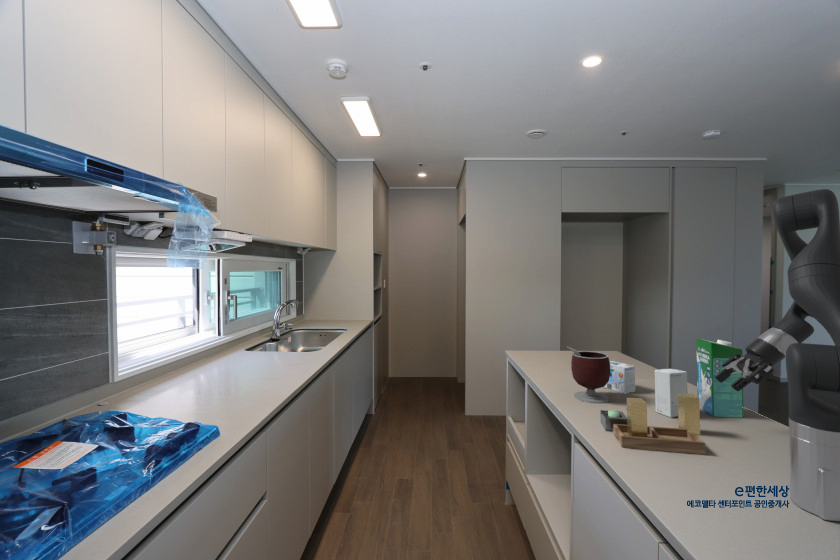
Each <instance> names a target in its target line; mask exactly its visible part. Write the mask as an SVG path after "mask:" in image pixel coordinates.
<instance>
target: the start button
mask: <svg viewBox="0 0 840 560" xmlns="http://www.w3.org/2000/svg"><path fill="white" fill-rule="evenodd" d="M607 411H608V417H620V413H619V412H618V411H619V410H615V409H610V410H607Z"/></svg>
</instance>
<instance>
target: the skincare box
mask: <svg viewBox="0 0 840 560" xmlns="http://www.w3.org/2000/svg"><path fill="white" fill-rule="evenodd" d="M678 393H687V394H689V393H688V372H687V371H684V370H680V369H676V368H661V369H660V368H659V369H655V370H654V396H655V397H654V398H655V399H654V400H655V403H654V404H655V412H656V413H658V414H661V415H663V416H666V417H669V418H675V417H678Z"/></svg>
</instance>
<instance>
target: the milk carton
mask: <svg viewBox="0 0 840 560" xmlns="http://www.w3.org/2000/svg"><path fill="white" fill-rule="evenodd" d="M695 339H696V379H697V380H696V384H697V385H696V388H697V389H696V391H697V397H698V398H699V404H700V410H702V411H704V412H706V413H707V414H708V415H710V416H711V417H720V418H740V419H744V418H745V417H744V415H745V414H744V388H743V389H741V390H740V391H736V390H735V389H733V388H732V387H731V385H732V384H733V383H734V382H735V381H737V380H738V379H739V378H740V377H742V376H743V373H744V372H742V373H734V374H732V375H731V376H730V377H728V378H727V379H726V380H725V381H724V382H722V383H721V382H719V381H718V380H716V379H715V376H716V375H718V374H719V373H720V372H721V371H722V370H724V369H723V366H722V364H723V363H725V362H726V361H727V360H729V359H730V358H731V357H732V356H734V355H735V354H737V353H739V354H740V355H741V356H743V349H741V348H740V347H739V348H738V347H735V346H732V344H733V342H730V341H726V340H723V339H717V341H712V340H707V339H703V338H700V337H699V338H698V337H696V338H695ZM728 365H730V363H729V364H728ZM733 370H735V369H733ZM742 378H743V377H742ZM742 407H743V408H742Z"/></svg>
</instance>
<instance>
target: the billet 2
mask: <svg viewBox="0 0 840 560" xmlns="http://www.w3.org/2000/svg"><path fill="white" fill-rule="evenodd" d="M700 411H701V408H700V404H699V398H698V395H695V394H694V393H688V394H687V393H678V416H677V418H678V420H677V421H678V428H680V429H689V430H691V431H692V432H693V433H694V434H695V435H696V436H697V435H699V436H700V435H701V420H700V419H701V418H700V417H701V413H700Z"/></svg>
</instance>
